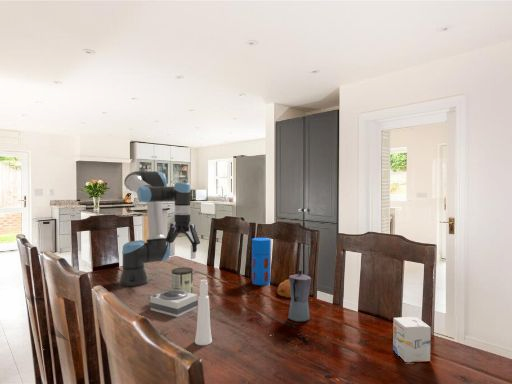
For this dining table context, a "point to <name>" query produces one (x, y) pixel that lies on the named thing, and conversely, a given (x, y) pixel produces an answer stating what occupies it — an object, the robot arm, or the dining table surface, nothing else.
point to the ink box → (411, 339)
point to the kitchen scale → (173, 302)
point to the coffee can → (182, 279)
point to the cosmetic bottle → (203, 316)
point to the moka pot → (299, 297)
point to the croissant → (284, 288)
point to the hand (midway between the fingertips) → (182, 257)
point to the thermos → (261, 261)
